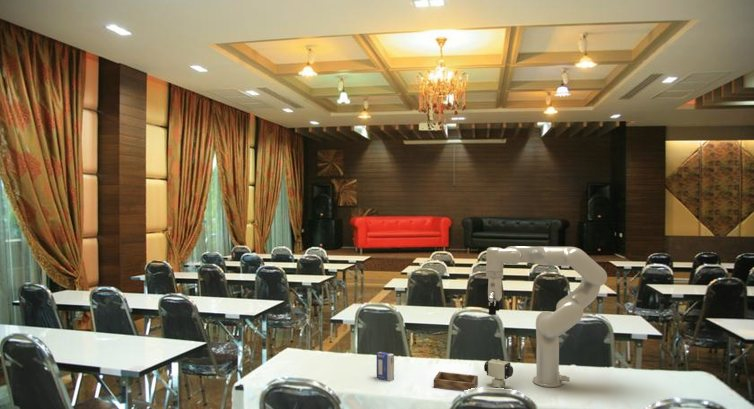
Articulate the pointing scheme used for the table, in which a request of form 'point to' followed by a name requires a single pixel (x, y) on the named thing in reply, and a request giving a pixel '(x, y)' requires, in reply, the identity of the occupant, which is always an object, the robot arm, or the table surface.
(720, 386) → the table surface
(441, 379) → the wooden tray
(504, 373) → the pneumatic valve
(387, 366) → the walkman
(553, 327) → the robot arm
